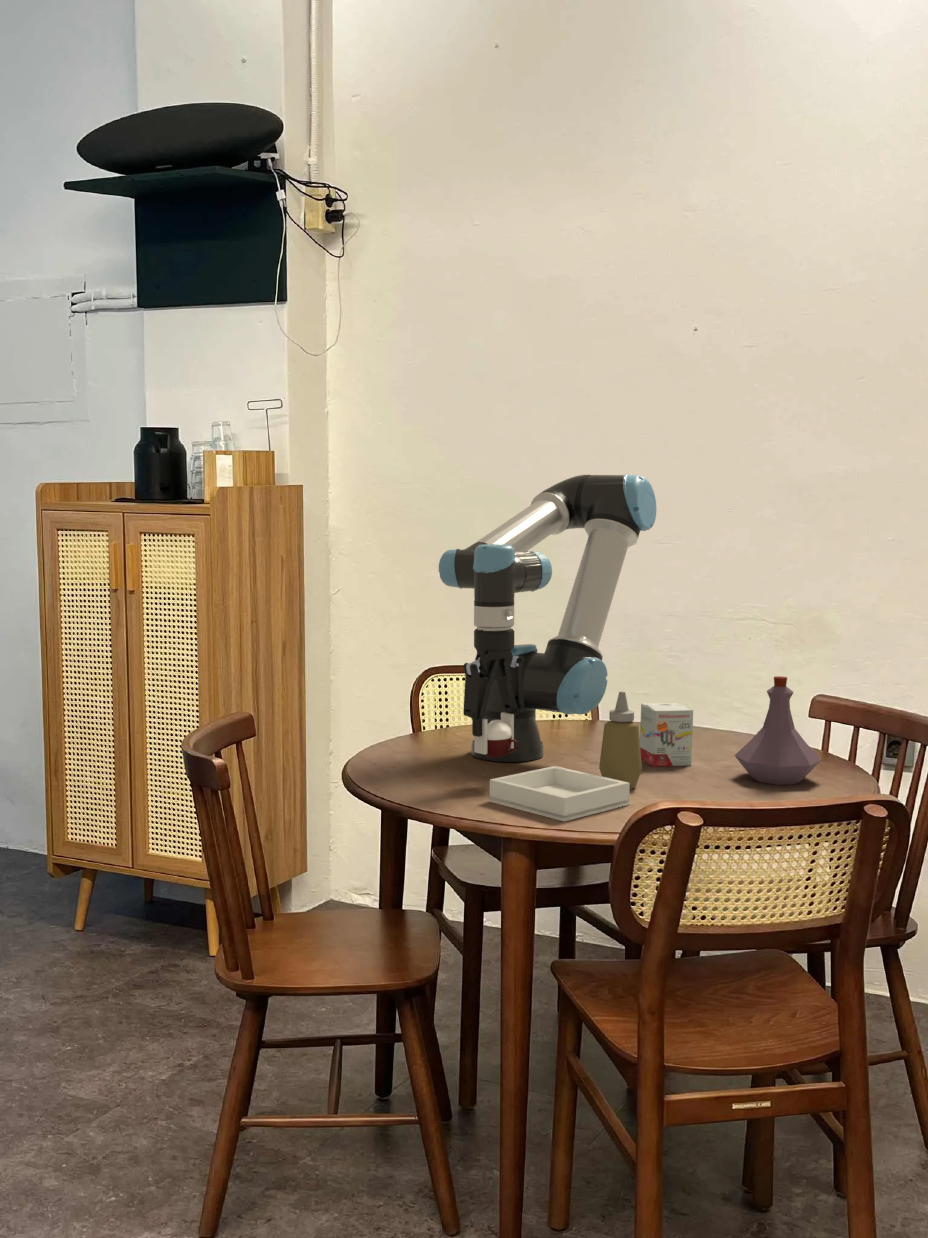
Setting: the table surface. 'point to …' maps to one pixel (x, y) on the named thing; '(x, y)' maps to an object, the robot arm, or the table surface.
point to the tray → (559, 793)
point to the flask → (778, 744)
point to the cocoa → (499, 739)
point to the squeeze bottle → (621, 745)
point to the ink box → (666, 734)
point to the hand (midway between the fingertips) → (494, 749)
